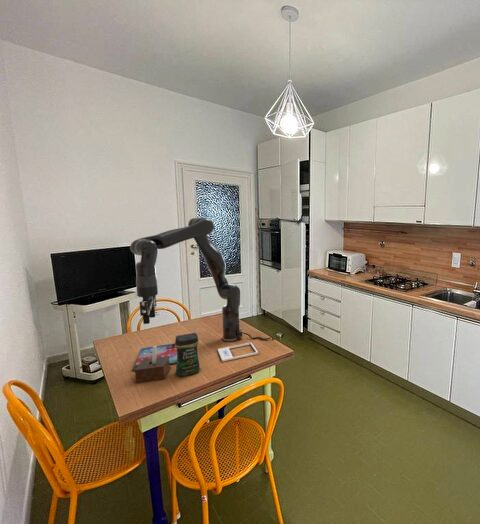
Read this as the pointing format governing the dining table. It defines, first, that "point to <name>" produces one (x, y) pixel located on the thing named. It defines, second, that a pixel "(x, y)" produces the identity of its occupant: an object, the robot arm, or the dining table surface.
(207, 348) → the dining table surface
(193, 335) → the coffee jar
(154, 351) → the stylus
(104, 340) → the dining table surface
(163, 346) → the tablet
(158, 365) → the holder
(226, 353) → the photo frame
